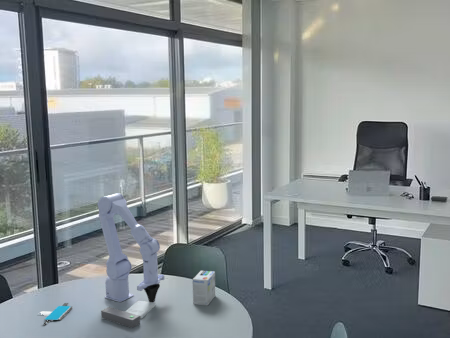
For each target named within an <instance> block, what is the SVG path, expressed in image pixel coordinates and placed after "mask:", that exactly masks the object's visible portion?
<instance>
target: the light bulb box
mask: <svg viewBox="0 0 450 338" xmlns="http://www.w3.org/2000/svg"><path fill="white" fill-rule="evenodd" d="M215 296H216V271H214V270H213V271H212V270H209V271H208V270H199V272H198V273H197V274H196V275H195V276H194V277H193V278H192V303H193V305H200V306H209V304H211V302H212V301H213V299H214V298H215Z"/></svg>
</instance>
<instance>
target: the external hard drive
mask: <svg viewBox="0 0 450 338" xmlns="http://www.w3.org/2000/svg"><path fill="white" fill-rule="evenodd" d="M156 306H157V304H156V302H149V301H144V300H143V301H142V300H137V301H136V302H134V303H133V304H132V305H131V306H129V308H127V309H126V310H124V311H125V312H128V313H131V314H135V315H138V316H140V320H141V319H143V318H144V317H145V316H147V314H149V313H150V311H151V310H153V309H154V308H155V307H156Z"/></svg>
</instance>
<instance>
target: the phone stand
mask: <svg viewBox="0 0 450 338" xmlns="http://www.w3.org/2000/svg"><path fill="white" fill-rule="evenodd" d="M68 304H69V303H66V302H65V303H64V304H62V305H57V307H55V309H53V310H52V311H46V310H45V311H44V310H43V311H42V310H41V311H40V312H39V313H41V315H42V314H43V315H44V316H43V317H45V318H44V320H45V321H46V322H47V323H48V324H49V323H50V322H51V321H50V320H57V321H58V320H60V321H62V319H64V317H66V316H67V315H68V314H69V313H70V312H71V311H72V309H73V306H71V305H68ZM69 311H70V312H69ZM68 312H69V313H68ZM66 314H67V315H66ZM65 315H66V316H65ZM47 320H48V321H47ZM45 321H44V322H45ZM49 321H50V322H49ZM46 322H45V324H46Z"/></svg>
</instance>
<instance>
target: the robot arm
mask: <svg viewBox="0 0 450 338" xmlns="http://www.w3.org/2000/svg"><path fill="white" fill-rule="evenodd" d="M96 205H97V209H98V218H99V222H100V225H101V230H102V234H103V237H104V241H105V245H106V249H107V253H108V259H107V261H105V262H106V263H105V265H106V276H107V278H106V280H105V296H104V298H105V299H108V300H110V301H111V300H112V301H116V302H118V303H121V302H124V301H125V300H128V299H131V297H134V294H133V293H130V287H129V283H130V282H129V276H130V272H131V271H132V269H133V268H132V263H131V261H130V260H129V257H128V255H127V254H125V253H123V251H122V246H121V243H120V239H119V235H118V231H117V227H116V224H115V223H116V222H115V219H114V216H115V215H119V217H120V218H121V219H122V220H123V221H124V222H125V224H126V225H127V226H128V227H129V229H130V235H131V236H132V237H133V239H134V240H135V242H136V243H137V244H138V246H139V253H140V255H141V259H142V262H143V263H142V264H143V265H142V266H143V267H142V268H143V280H142V281H140V283H139V284H137V285H136V290H137V291H139V292H142V291H144V292H145V294H146V297H147V299H148V302H154V303H156V297H157V294H158V290H159V289H160V283H161V282H160V281H164V280H165V274H159V267H158V262H159V261H158V252H159V251H160V249H161V245H160V243H159V240H157V239H156V238H154V237H152V236H151V235H150V233H149V232H148V231H147V230H146V229H147V228H146V227H145V226H143V224H139V223H138V222H137V220H136V219H135V217H134V215H133V214H132V213H133V212H131V211H130V207H128V203H127V199H125V198H124V195H123V194H122V193H120V192H116V193H113V194H109V195H105V196H101V197H100V198H99V200H98V202H97V204H96Z"/></svg>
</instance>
